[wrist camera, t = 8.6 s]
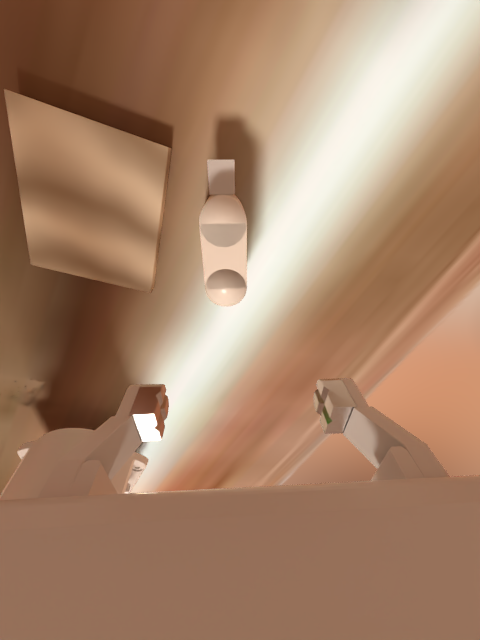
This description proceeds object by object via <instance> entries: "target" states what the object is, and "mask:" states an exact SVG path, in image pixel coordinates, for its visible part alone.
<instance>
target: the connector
mask: <svg viewBox="0 0 480 640" xmlns="http://www.w3.org/2000/svg"><path fill="white" fill-rule="evenodd" d="M207 165H208V180H209V194H210V195H211V196H210V197H209V198H208V200H207V201H206V203H205V205H204V207H203V209H202V211H201V213H200V217H199V227H200V237H201V248H202V259H203V269H204V280H205V290H206V294H207V296H208V297H209V299H210V300H211V301H212V302H213V303H215V304H217V305H220V306H233V305H235V304H237V303H239V302H240V301H241V300H242V299H243V298H244V296H245V294H246V288H247V219H246V215H245V212H244V209H243V206H242V204H241V202H240V200H239V199H238V197H236V196H235V195H234V194H235V161H234V160H207Z"/></svg>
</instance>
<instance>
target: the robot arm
mask: <svg viewBox="0 0 480 640" xmlns="http://www.w3.org/2000/svg"><path fill="white" fill-rule="evenodd" d="M317 388H318V389H317V390H316V391H315V393H314V406H315V409H316V412H317V413H318V414H320V415H321V417H320V423H321V425H322V428H323V431H324V433H325V434H328V433H343V435H344V436H345V437H346V438H347V439H348V440H349V441H350V442H351V443H352V444H353V445H354V446H355V447H356V448H357V449H358V450H359V451H360V452H361V453H362V454H363V455H364V456H365V457H366V458H367V459H368V460H369V461H370V462H371V463H372V464H373V465H374V466H375V467H376V468H377V471H376V472H375V474H374V475H373V477H372V479H371V481H359V482H358V481H357V482H340V483H339V482H338V483H319V484H301V485H300V484H299V485H280V486H261V487H242V488H223V489H204V490H185V491H166V492H147V493H130V492H131V490H132V488H133V487H134V485H135V484H136V482H137V480H138V479H139V477H140V475H141V474H142V472H143V471H144V469H145V467H146V465H147V463H148V459H147V458H146V457H145V456H143V455H141V454H139V453H136V452H135V451H136V449H137V448H138V447H139V446H140V445H141V443H142V442H145V441H160V440H162V436H163V432H164V428H165V425H164V420H165V419H166V418H167V414H168V407H169V403H168V396H166V395H165V392H166V388H165V385H164V384H149V385H130V386H129V387H128V388H127V390H126V392H125V395H124V397H123V399H122V402H121V404H120V406H119V408H118V411H117V413H116V415H115V416H111V417H110V418H109V419H108V420H107V421H105V422H104V423H103V424H102V425H100V426H99V427H98V428H97V429H96V430H91V429H84V428H64V429H58V430H54V431H51V432H48V433H46V434H44V435H43V436H42V437H40V438H39V439H37V440H35V441H31V442H27V443H24V444H22V445H21V446H20V448H19V449H18V451H17V453H18V455H19V456H20V458H21V459H22V461H21V462H20V464H19V465H18V467H17V469H16V470H15V472H14V474H13V475H12V477H11V478H10V480H9V482H8V483H7V485H6V487H5V488H4V490H3V492H2V493H1V495H0V640H480V475H470V476H451V477H450V476H449V475H448V473H447V472H446V471H445V469H444V468H443V466H442V465H441V464H440V462H439V461H438V460H437V458H436V457H435V455H434V454H433V452H432V451H431V450H430V448H429V447H428V446H427V444H425V443H424V442H422V441H421V440H420V439H418V438H417V437H415V436H414V435H412V434H411V433H410V432H408V431H406V430H405V429H404V428H402V427H401V426H399V425H398V424H396V423H395V422H394V421H392V420H391V419H389V418H388V417H386V416H385V415H384V414H382V413H381V412H379V411H378V410H376V409H375V408H374V407H369V406H368V404H367V402H366V401H365V399H364V397H363V396H362V394H361V392H360V391H359V389H358V388H357V386H356V384H355V383H354V381H353V380H352V379H351V378H343V379H319V380H318V381H317Z"/></svg>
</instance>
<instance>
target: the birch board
mask: <svg viewBox="0 0 480 640" xmlns="http://www.w3.org/2000/svg"><path fill="white" fill-rule="evenodd" d="M4 94H5V100H6V107H7V113H8V120H9V126H10V133H11V139H12V146H13V152H14V159H15V165H16V172H17V178H18V185H19V192H20V198H21V205H22V211H23V218H24V224H25V231H26V237H27V244H28V250H29V257H30V263H31V265H34V266H38V267H43V268H47V269H51V270H55V271H59V272H64V273H68V274H72V275H76V276H80V277H85V278H89V279H93V280H97V281H101V282H106V283H110V284H114V285H118V286H122V287H127V288H131V289H135V290H139V291H143V292H148V293H151V292H152V290H153V288H154V283H155V275H156V268H157V260H158V252H159V245H160V237H161V229H162V221H163V214H164V206H165V198H166V191H167V183H168V175H169V168H170V160H171V152H172V148H169V147H166V146H164V145H161V144H158V143H155V142H152V141H150V140H147V139H144V138H141V137H138V136H136V135H133V134H130V133H127V132H124V131H122V130H119V129H116V128H113V127H110V126H108V125H105V124H102V123H99V122H96V121H94V120H91V119H88V118H85V117H82V116H80V115H77V114H74V113H71V112H68V111H66V110H63V109H60V108H57V107H54V106H52V105H49V104H46V103H43V102H40V101H38V100H35V99H32V98H29V97H26V96H24V95H21V94H18V93H15V92H12V91H9V90H6V89H4Z"/></svg>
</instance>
